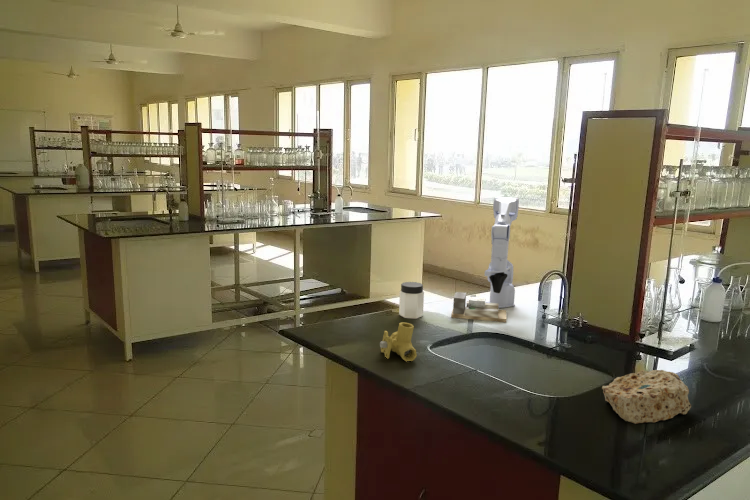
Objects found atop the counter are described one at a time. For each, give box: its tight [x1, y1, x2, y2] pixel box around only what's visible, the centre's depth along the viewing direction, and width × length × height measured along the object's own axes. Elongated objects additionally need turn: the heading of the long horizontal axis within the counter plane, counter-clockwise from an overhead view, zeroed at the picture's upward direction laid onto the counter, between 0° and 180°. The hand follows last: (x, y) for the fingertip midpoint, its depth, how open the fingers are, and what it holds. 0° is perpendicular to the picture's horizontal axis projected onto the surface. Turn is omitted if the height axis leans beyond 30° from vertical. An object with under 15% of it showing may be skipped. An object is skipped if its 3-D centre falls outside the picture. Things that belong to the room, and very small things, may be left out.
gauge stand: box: [450, 291, 507, 323], centre depth 211 cm, size 20×12×7 cm, turn 77°
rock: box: [601, 369, 692, 425], centre depth 137 cm, size 21×14×10 cm
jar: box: [398, 281, 425, 320], centre depth 209 cm, size 9×8×12 cm
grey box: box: [468, 296, 486, 309], centre depth 210 cm, size 6×8×5 cm
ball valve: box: [379, 321, 418, 363], centre depth 169 cm, size 13×10×10 cm
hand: (496, 292), depth 209 cm, fingers closed
